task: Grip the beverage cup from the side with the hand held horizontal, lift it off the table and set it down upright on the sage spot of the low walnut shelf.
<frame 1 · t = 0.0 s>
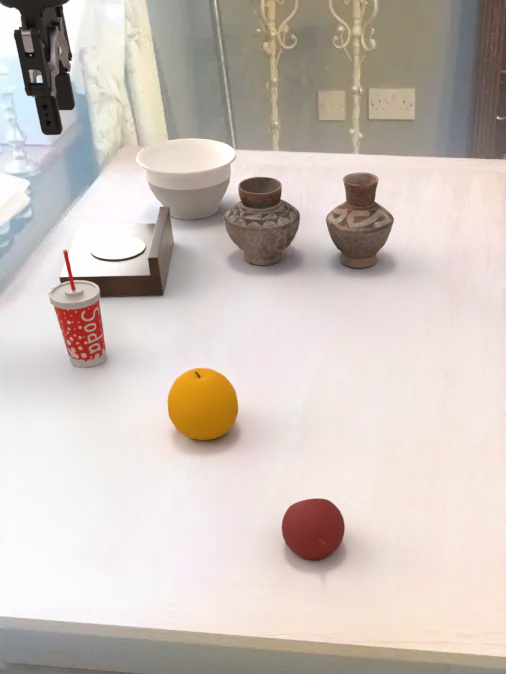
hand: (59, 121, 102), 26 cm above the table, tool pointing down, fingers open, 8 cm apart
apple: (206, 431, 103), on the table
fruit: (315, 556, 88), on the table
shelf: (121, 268, 133), on the table
bowl: (192, 210, 149), on the table
beverage cup: (88, 359, 115), on the table
pottery: (309, 260, 136), on the table
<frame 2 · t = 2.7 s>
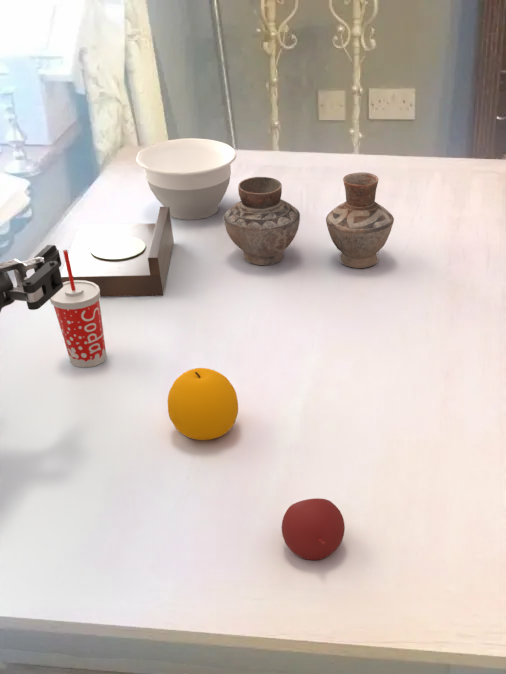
hand: (16, 250, 95), 18 cm above the table, tool horizontal, fingers open, 8 cm apart
nothing on the table moved.
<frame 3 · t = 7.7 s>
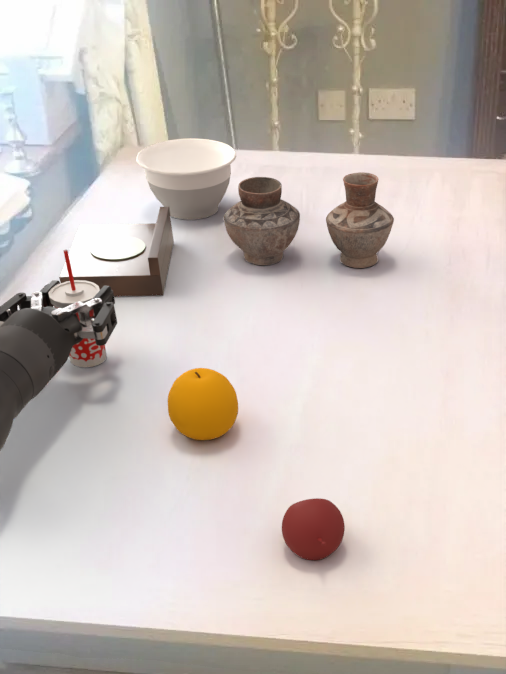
hand: (83, 290, 111), 8 cm above the table, tool horizontal, fingers closed on beverage cup, 6 cm apart
beverage cup: (88, 359, 115), on the table, touching gripper
everything else where it was.
when the fingers open (11 cm above the table, at t = 15.6 s): beverage cup stays where it is, resting on shelf.
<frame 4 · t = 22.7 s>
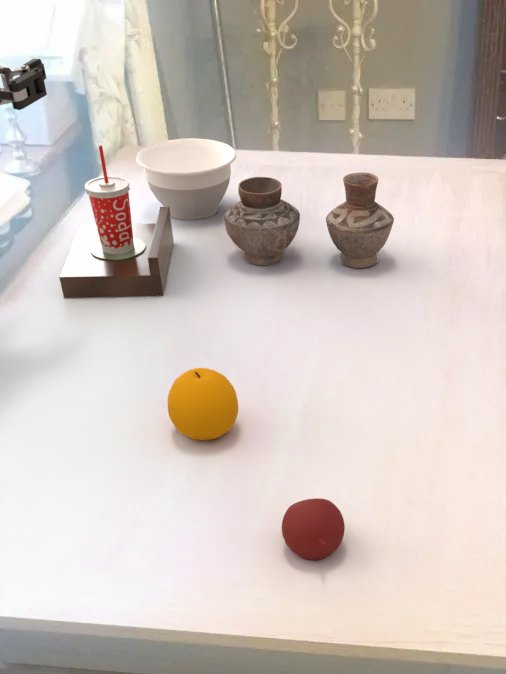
hand: (5, 66, 103), 30 cm above the table, tool horizontal, fingers open, 8 cm apart
beverage cup: (118, 249, 131), point 3 cm above the table, touching shelf
everything else where it was.
at the end: beverage cup 0.1 cm off-centre on the shelf, point 3.0 cm above the shelf's base; beverage cup tilted 0°; the gripper is holding nothing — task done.
